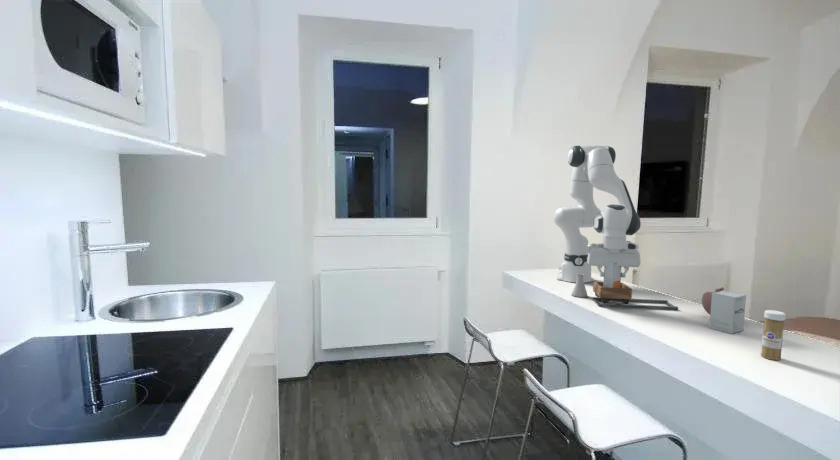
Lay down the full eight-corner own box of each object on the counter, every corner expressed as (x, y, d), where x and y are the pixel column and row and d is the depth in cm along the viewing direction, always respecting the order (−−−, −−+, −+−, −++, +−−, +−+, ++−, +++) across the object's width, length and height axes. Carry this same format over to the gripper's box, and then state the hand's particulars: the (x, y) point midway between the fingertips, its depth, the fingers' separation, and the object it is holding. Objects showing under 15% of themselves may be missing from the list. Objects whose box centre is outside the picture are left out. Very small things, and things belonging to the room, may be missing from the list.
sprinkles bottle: (760, 358, 120) (764, 312, 119) (761, 353, 124) (764, 308, 122) (781, 362, 117) (785, 315, 116) (781, 357, 121) (785, 311, 119)
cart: (592, 296, 184) (593, 281, 183) (621, 297, 182) (622, 282, 181) (600, 303, 172) (600, 287, 171) (631, 304, 170) (632, 289, 169)
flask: (585, 294, 194) (586, 272, 193) (590, 298, 186) (591, 275, 185) (569, 293, 194) (570, 272, 193) (573, 297, 187) (574, 275, 186)
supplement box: (732, 334, 140) (735, 297, 139) (708, 328, 146) (711, 292, 145) (744, 331, 143) (747, 294, 142) (720, 324, 150) (722, 290, 149)
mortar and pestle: (741, 318, 158) (744, 288, 157) (737, 325, 149) (740, 293, 148) (703, 311, 166) (705, 283, 165) (697, 318, 158) (699, 288, 156)
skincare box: (612, 290, 173) (613, 262, 172) (602, 288, 177) (604, 260, 176) (620, 289, 176) (622, 260, 175) (611, 287, 180) (612, 259, 179)
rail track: (592, 299, 183) (592, 297, 183) (666, 302, 179) (666, 300, 179) (598, 306, 172) (599, 303, 172) (678, 310, 168) (678, 307, 168)
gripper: (589, 244, 173) (588, 277, 175) (642, 245, 170) (640, 279, 171) (586, 242, 179) (584, 274, 181) (637, 243, 176) (635, 276, 178)
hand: (612, 276), depth 176 cm, fingers closed on skincare box, 7 cm apart
